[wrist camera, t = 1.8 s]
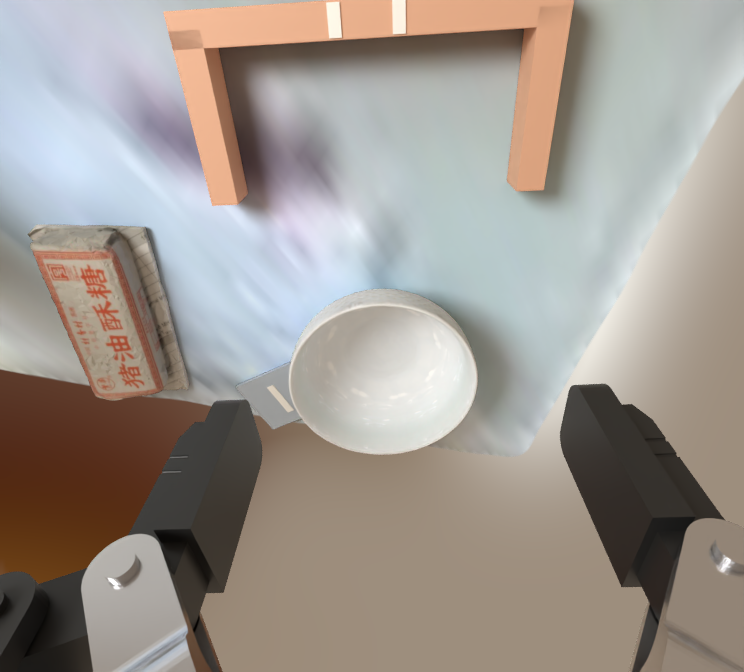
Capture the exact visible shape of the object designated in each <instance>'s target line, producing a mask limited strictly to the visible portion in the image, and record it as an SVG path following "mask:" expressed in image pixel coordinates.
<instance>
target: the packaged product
mask: <svg viewBox="0 0 744 672" xmlns="http://www.w3.org/2000/svg"><path fill="white" fill-rule="evenodd" d="M28 235H29V237H30V238H31V239H32V240H33V242H31V244H30V249H31V250H32V251H33V254H34V256H35V258H36V261H37V264H38V266H39V269H40V271H41V273H42V275H43V279H44V280H45V283H46V285H47V287H48V289H49V291H50V294H51V296H52V297H51V298H52V300H53V301H54V303H55V305H56V307H57V310H58V313H59V314H60V317H61V319H62V322H63V324H64V326H65V329H66V330H67V332H68V336H69V338H70V340H71V342H72V344H73V347H74V349H75V351H76V353H77V355H78V357H79V360H80V363H81V365H82V367H83V369H84V371H85V374H86V376H87V377H88V380H89V383H90V386H91V388H92V391H93V392H94V393H95V396H97V397H98V398H104V399H106V400H113V401H114V400H121V399H124V398H129V397H136V396H142V395H144V396H147V395H151V394H154V393H158V392H160V391H162V390H178V389H180V388H181V389H187V390H188V388H189V381H188V376H187V372H186V369H185V365H184V362H183V359H182V356H181V352H180V349H179V346H178V342H177V338H176V334H175V330H174V326H173V322H172V319H171V314H170V309H169V304H168V301H167V299H166V294H165V292H164V289H163V286H162V284H161V281H160V276H159V272H158V268H157V264H156V260H155V257H154V254H153V250H152V247H151V243H150V240H149V238H148V235H147V232H146V227H134V226H108V225H87V226H80V225H38V224H37V225H36V226H35V227H34V228H33V229H32V230H31V231H30V232H29V233H28Z"/></svg>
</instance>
